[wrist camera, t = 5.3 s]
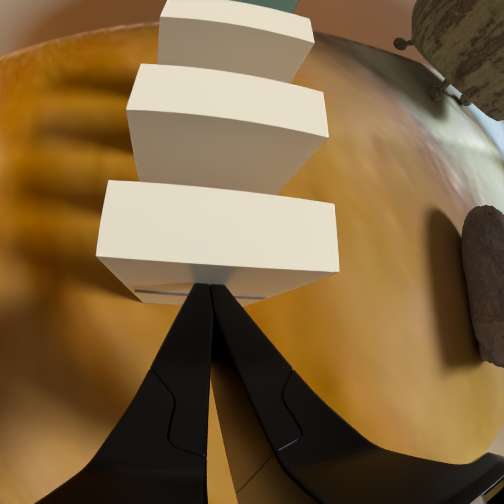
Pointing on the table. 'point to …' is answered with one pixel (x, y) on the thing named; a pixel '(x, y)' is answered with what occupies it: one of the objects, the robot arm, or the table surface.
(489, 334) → the perforated stone tool
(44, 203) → the table surface
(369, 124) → the table surface
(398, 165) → the table surface
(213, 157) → the domino
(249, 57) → the domino
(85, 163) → the table surface
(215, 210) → the domino
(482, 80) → the tabletop clock
